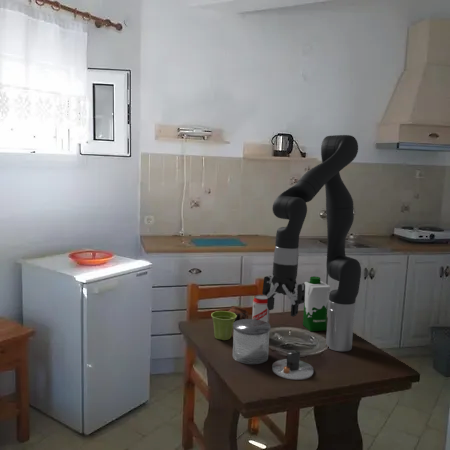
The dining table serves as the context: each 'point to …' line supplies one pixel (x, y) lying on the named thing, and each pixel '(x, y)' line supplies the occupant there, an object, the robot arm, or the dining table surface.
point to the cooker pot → (251, 341)
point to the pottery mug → (239, 313)
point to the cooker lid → (292, 367)
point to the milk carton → (316, 305)
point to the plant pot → (223, 324)
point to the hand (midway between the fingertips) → (281, 312)
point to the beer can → (260, 308)
